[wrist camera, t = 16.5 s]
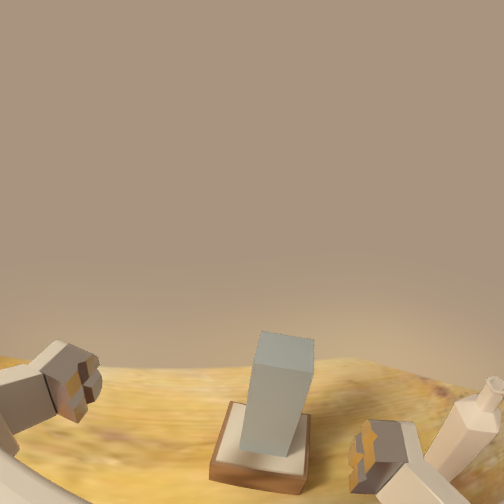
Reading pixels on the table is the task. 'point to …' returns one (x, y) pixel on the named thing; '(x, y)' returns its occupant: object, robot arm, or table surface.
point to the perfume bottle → (467, 430)
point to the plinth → (259, 458)
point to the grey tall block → (276, 393)
